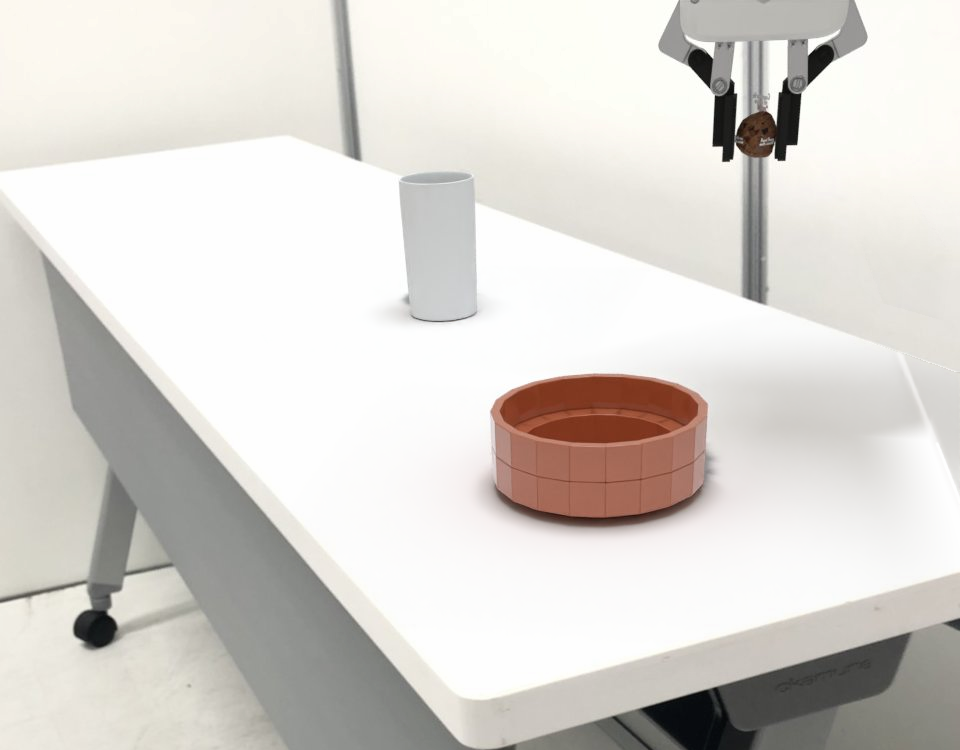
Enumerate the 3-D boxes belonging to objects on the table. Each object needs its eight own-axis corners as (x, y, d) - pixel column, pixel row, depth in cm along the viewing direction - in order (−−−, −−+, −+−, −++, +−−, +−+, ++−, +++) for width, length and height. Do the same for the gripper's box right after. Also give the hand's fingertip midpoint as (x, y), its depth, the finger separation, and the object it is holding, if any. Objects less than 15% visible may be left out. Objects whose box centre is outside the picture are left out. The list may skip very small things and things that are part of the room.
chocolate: (723, 157, 81) (727, 92, 79) (751, 153, 82) (755, 89, 80) (749, 163, 79) (753, 96, 77) (778, 159, 79) (783, 93, 77)
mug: (467, 323, 110) (461, 184, 104) (397, 321, 111) (387, 183, 105) (497, 295, 118) (493, 164, 112) (432, 293, 120) (424, 164, 114)
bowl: (705, 447, 81) (709, 374, 79) (701, 530, 70) (705, 449, 68) (511, 442, 84) (509, 371, 81) (477, 522, 72) (473, 443, 70)
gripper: (629, -170, 69) (625, 170, 79) (927, -191, 66) (886, 166, 75) (641, -162, 76) (635, 151, 85) (913, -181, 73) (877, 147, 82)
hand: (754, 155), depth 80 cm, fingers closed on chocolate, 2 cm apart
